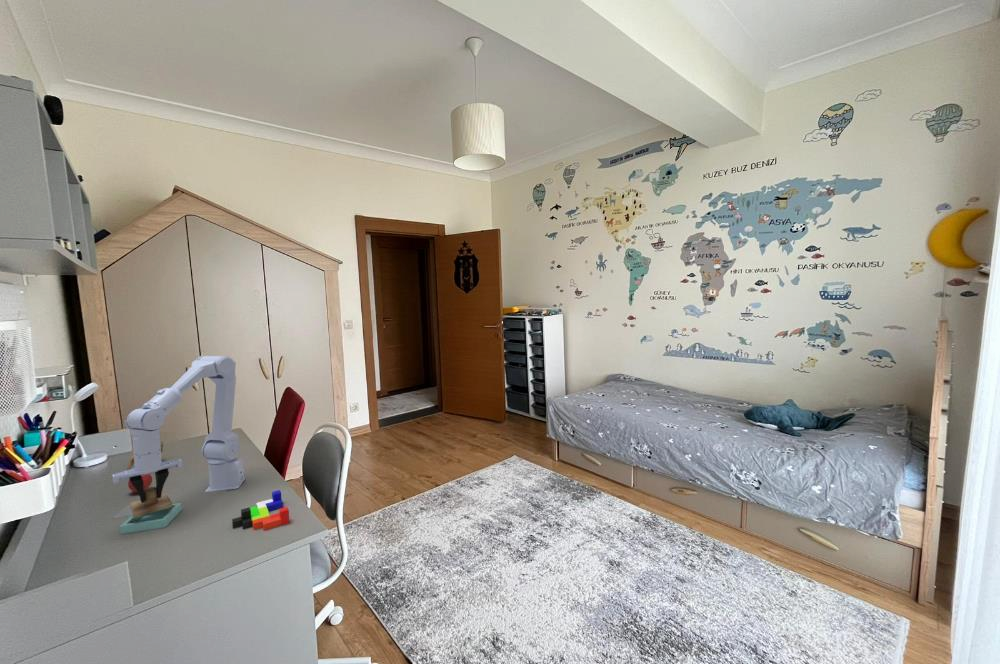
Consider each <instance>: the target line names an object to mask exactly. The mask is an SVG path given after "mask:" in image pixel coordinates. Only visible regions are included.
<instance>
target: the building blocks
mask: <svg viewBox="0 0 1000 664" xmlns="http://www.w3.org/2000/svg"><path fill="white" fill-rule="evenodd" d="M255 504H256V506H252V507H247V508H246V507H245V508H242V509H240V516H238V517H235V518H232V519H231V523H232V524H231V525H232V529H233V530H234V529H236V528H240V527H242V529H243V530H245V529H249V528H252V529H253V531H255V530H258V529H262V530H263V531H264V532H265V531H268V530H271V529H274V528H277V527H281V526H284V525H287V524H290V510H289V509H290V508H289V507H288V506H285V507H284V502H283V500H282V492H281V490H280V489H278V490H274V491H272V492H271V498H270V499H266V500H262V501H259V502H256V503H255ZM276 510H279V512H277V513H274V514H270V513H269V512H273V511H276Z"/></svg>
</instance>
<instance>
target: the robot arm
mask: <svg viewBox="0 0 1000 664" xmlns="http://www.w3.org/2000/svg"><path fill="white" fill-rule="evenodd" d="M236 363H237V362H236V361H235V360H234V359H233V358H231V357H230V356H228V355H223V356H222V355H200V356H198V357H197V358H196V359H195V360H193V361H192V362H191V366H190V368H188V369H187V371H186V372H185V373H183V375H182V376H181V377H180V378H179V379H178V380H176V382H175V383H174V384H173V385H172V386H171V387H164V388H162V389H158V391H156V394H155V395H154V396H153V397H151V398H150V400H148V401H147V402H144V404H143V405H142V406H141V408H136V409H133V410H132V411H130V413H128V415H127V417H126V420H124V425H125V427H126V428H127V429H129V431H130V435H131V441H132V451H133V453H132V454H133V455H134V465H133V466H134V467H133V468H131V469H130V470H127V469H126V470H124V471H120V472H117V473H114V474H112V476H111V477H112V483H113V484H117V483H119V482H122V481H126V480H128V481H129V480H130V482H131V483H132V485H133V486H134V487H135V488H136V490H137V491H138V492H137V493H138V496H139V499H140V500H141V502H142V503H143V502H145V496H144V488H143V479H142V476H143V475H147V474H150V475H151V474H154V477H155V485H156V486H155V487H156V488H157V498H161V494H163V488H164V486H165V483H166V481H167V479H168V477H169V474H170V471H169V470H172V469H176V468H182V467H183V460H182V458H177V459H171V460H164V461H162V453H161V446H160V440H161V437H160V435H161V434H160V427H162V426H163V424H164V422H165V418H166V417H167V416H168V414H169V413H170V412H171V411H172V410H173V409H174V408H175V407H176V406H177V405H178V404H179V403H181V401H182V398H183V397H182V395H183V394H184V393H185V392H187V391H188V390H189V389H191V388H192V387H193V386H194V385H196V384H197V383H198V382H200V380H202V379H204V378H205V379H206V378H207V379H209V380H211V381H212V382H213V383H214V384H215V392H214V393H215V395H214V404H213V405H214V406H213V415H212V427H211V432H210V433H208V434H207V435H206V436H205V437H204V442H203V445H202V448H201V449H200V450H201V452H200V453H201V456H202V457H203V458H204V459H205V461H206V463H207V465H208V477H209V481H208V482H209V486H208V487H207V488H206V489H205V490H204V492H205V493H209V492H217V491H225V490H226V491H228V490H236V489H239V488H240V486H241V485H242V484H243V482H245V480H246V477H245V469H244V468H245V467H244V465H245V464H244V460H243V458H241V457H239V458H237V457H238V455H239V453H240V443H239V436H238V435H237V434H236V433H235V432H234V431H232V428H233V417H234V416H233V415H234V405H235V394H236V383H237V382H236V381H237V378H236V377H237V376H236V365H237V364H236Z"/></svg>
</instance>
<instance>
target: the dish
mask: <svg viewBox="0 0 1000 664" xmlns="http://www.w3.org/2000/svg"><path fill="white" fill-rule="evenodd" d="M182 504H183V503H182V502H177V503H172V507H169V508H166V509H163V510H159V511H156V512H152V513H149V514H146V515H142V516H139V517H136V518H134V516H133V515H132V516H129V517H128V518H127V519H126V520H125V521H124V522H123V523H122V524H121V525H119V533H120V535H124V534H125V535H126V534H130V533H138V532H139V533H140V532H146V531H151V530H152V531H153V530H159V529H164V528H165V529H166V528H167V527H168V526H169V525H170V523H171V522H172V521H173V520H174V519H175V518H176V517H177V516H178V515H179V514H180V513H181V512H182V510H183V509H182V508H183V506H182Z"/></svg>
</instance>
